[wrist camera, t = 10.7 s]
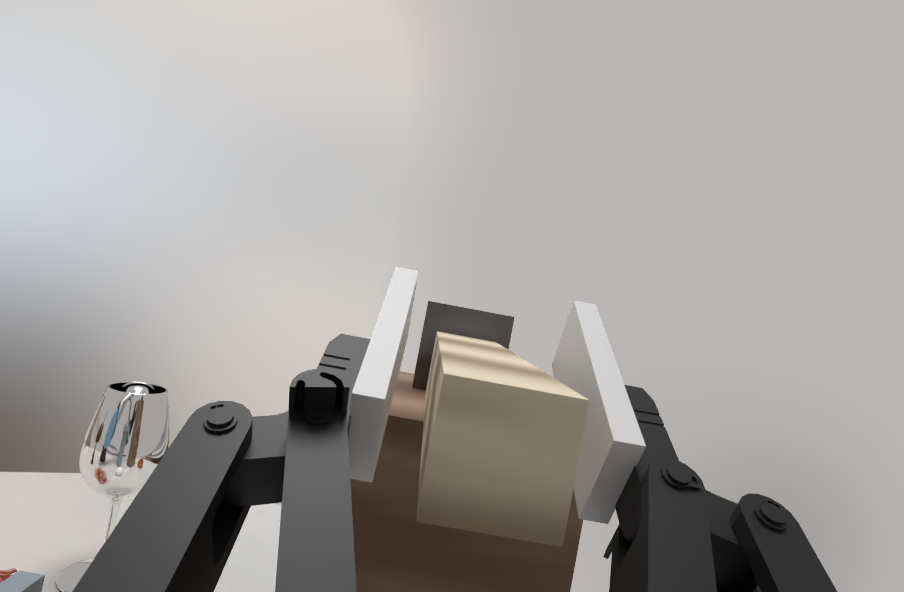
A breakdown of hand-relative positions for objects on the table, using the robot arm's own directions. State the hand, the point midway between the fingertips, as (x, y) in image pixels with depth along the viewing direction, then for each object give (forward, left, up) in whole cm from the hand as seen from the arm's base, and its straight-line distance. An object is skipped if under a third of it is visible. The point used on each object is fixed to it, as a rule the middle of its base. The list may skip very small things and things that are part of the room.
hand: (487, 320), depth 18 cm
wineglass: (+29, +39, -34) cm, 60 cm away
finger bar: (+2, +1, -4) cm, 5 cm away
